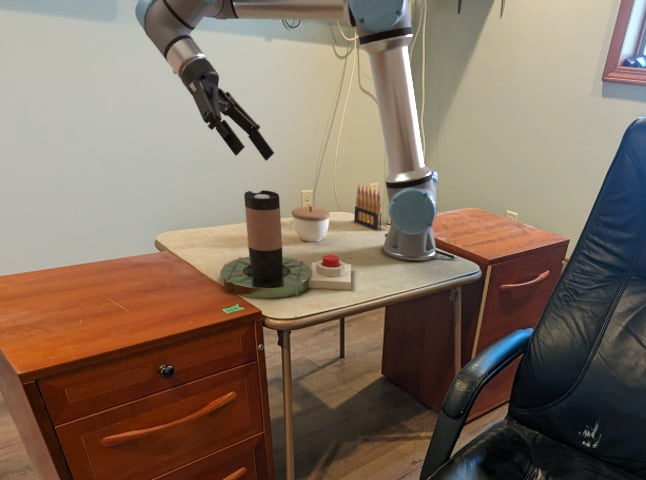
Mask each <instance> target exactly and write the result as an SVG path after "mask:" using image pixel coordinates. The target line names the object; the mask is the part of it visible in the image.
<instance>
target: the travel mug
mask: <svg viewBox="0 0 646 480" xmlns="http://www.w3.org/2000/svg"><path fill="white" fill-rule="evenodd" d="M243 196H244V197H243V198H244V210H245V222H246V223H245V224H246V235H247V246H248V248H247V249H248V257H249V256H250V264H251V273H252V274H251V278H255V279H261V280H273V279H280V278H284V274H283V262H282V257H283V235H282V223H281V222H282V221H281V201H280V194H279V193H277V192H276V191H273V190H260V192H252V191H251V190H248V191H245V192H244V195H243Z"/></svg>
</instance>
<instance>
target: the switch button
mask: <svg viewBox="0 0 646 480" xmlns="http://www.w3.org/2000/svg"><path fill="white" fill-rule="evenodd" d="M321 260H323V266H325V267H331V268H334V267H338V266H339V261H340V257H339V256H338V255H335V254H325V255H323V256H322V259H321Z"/></svg>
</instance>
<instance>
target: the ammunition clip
mask: <svg viewBox="0 0 646 480" xmlns="http://www.w3.org/2000/svg"><path fill="white" fill-rule="evenodd" d="M356 189H357V190H356V198H355V206H354V218H353V222H354V223H356V224H359V225H361V226H364V227H367V228H368V229H369V228H370V229H372V230H375V231H380V230H382V211H381V210H382V209H381V208H382V204H381V197H382V196H381V191H380V190H378V191H377V190H376V188H374V189H372V187H370V188H368V186H364V185H362V186H361V185H360V183H359V184H358V185H357V188H356ZM368 221H369V222H368ZM379 226H380V227H379Z"/></svg>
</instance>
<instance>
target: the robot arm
mask: <svg viewBox="0 0 646 480" xmlns="http://www.w3.org/2000/svg"><path fill="white" fill-rule="evenodd" d="M134 15H135V18H136V20H137V22H138V23H139V25H140V26H141V28H142V29H143V31H144V34H145V35H146V36H147V38H148V39H149V40H150V41H151V42H152V44H153V45H154V46H155V48H156V49H157V50H158V51H159V54H161V55H162V56H163V58H164V60H165V61H166V63H168V65H169V67H171V68H172V74H174V75H176V76H177V77H178V78H179V80H180V81H181V83H182V84H183V86H184V87H185V89H186V90H187V91H188V92H189V93H190V95H191V96H192V98H193V100H194V102H195V105H196V107H197V110H198V112H199V113H200V116H201V119H202V120H203V122H204V123H205V124H207V128H208V129H209V130H211V131H213V130H214V129H215V130H216V132H217V133H218V134H219V136H220V137H221V138H222V140H223V141H224V142H225V144H226V145H227V147H228V148H229V149H230V150H231V152H232V153H233V155H234V156H238V155H240V153H241V152H242V151H243V150H244V149H245V148H246V146H245V145H244V144H243V142H242V141H241V139H240V138H239V137H238V135H237V134H236V133H235V131H234V130H233V129H232V127H231V126H230V124H229V122H227V120H226V119H223V116H224V117H228V118H230V119H231V120H232V121H233V122H234V123H235V124H236V125H237V126H238V127H240V129H242V131H244V132H245V133H246V134H247V135H248V136H247V137H248V139H249V140H250V141H251V143H252V144H253V146H254V147H255V148H256V150H257V151H258V153H259V154H260V155H261V156H262V158H263V159H264V161H266V162H267V161H268V160H269V159H270V158H271V157H273V155H274V154H275V152H274V150H273V149H272V147H271V146H270V144H269V143H268V142H267V141H266V139H265V138H264V136H263V135H262V134H261V132H260V131H259V130H260V129H261V126H260V124H259V123H257V122H256V121H255V120H254V119H253V118H252V116H250V114H249V113H247V111H246V110H245V109H244V108H243V106H241V105H240V104H239V102H237V100H235V98H234V97H233V96H232V94H231V93H230V92H229V91H226V92H225V91H224V90H223V89H222V88H221V87H219V81H220V76H219V73H218V72H217V70H216V69H215V67H214V66H213V64H211V62H210V61H209V60H208V58H207V56H206V54H204V52H203V50H202V49H201V48H200V46H199V45H198V44H197V42H196V41H195V40H194V38H193V37H192V36H191V33H192V32H193V31H194V30H195V29H196V27H197V26H198V25H199V23H200V22H201V21H202V20H203V19H204V18H213V19H215V20H222V21H223V20H229V19H230V20H238V19H239V20H275V21H278V20H282V21H319V22H321V21H322V22H324V21H325V22H346V23H347V24H348V25H349V27H351V28H352V27H353V28H356V31H357V37H358V41H359V47H360V48H361V49H362V51H365V53H366V54H367V55H368V58H369V63H370V70H371V75H372V81H373V86H374V91H375V97H376V104H377V108H378V113H379V119H380V120H379V121H380V125H381V130H382V136H383V141H384V147H385V152H386V153H385V154H386V157H387V164H388V169H389V171H388V174H387V175H386V177H385V178H384V182H385V186H386V187H385V188H386V192H387V198H388V203H389V205H388V216H389V218H390V222H391V225H390V227H389V230H388V233H384V238H385V240H384V244H383V252H384V253H385V254H386V255H388V256H389V257H391V258H394V259H396V260H401V261H408V262H424V261H428V260H432V259H433V258H435V257H436V254H437V255H441V256H445V257H447V258H451V259H455V255H453V254H450V253H446V252H444V251H440V250H437V246H436V241H435V237H434V230H433V224H434V222H435V220H436V217H437V214H438V209H437V208H438V206H437V189H438V184H439V174H438V172H437V171H436V170H433V169H430V168H429V167H428V166H426V165H425V161H424V154H423V147H422V138H421V133H420V127H419V126H420V125H419V119H418V112H417V105H416V99H415V91H414V84H413V78H412V77H413V76H412V70H411V64H410V56H409V49H408V47H409V44H410V42H411V40H412V39H413V37H414V35H413V34H414V33H413V26H412V20H411V12H410V0H138V1H137V2H136V5H135V9H134ZM222 115H223V116H222Z"/></svg>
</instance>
